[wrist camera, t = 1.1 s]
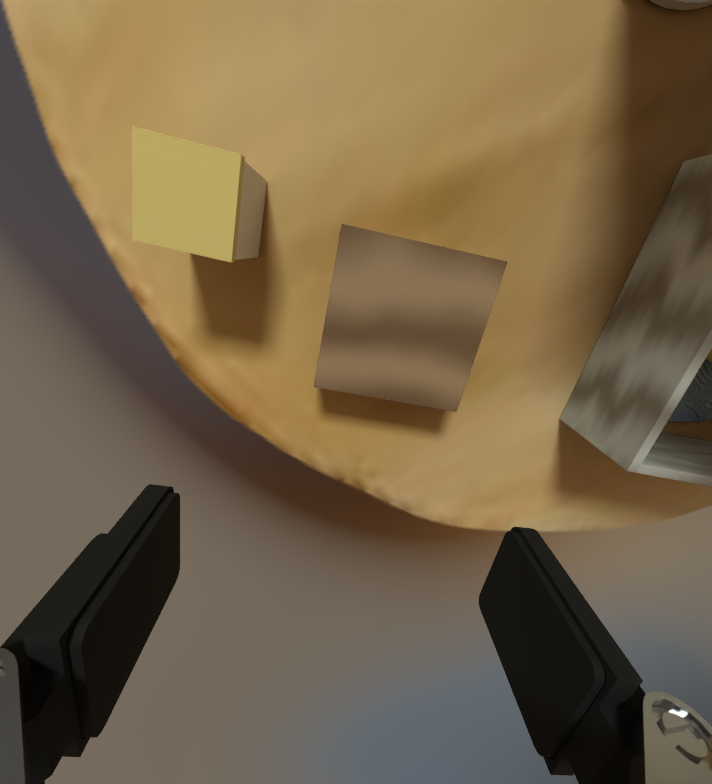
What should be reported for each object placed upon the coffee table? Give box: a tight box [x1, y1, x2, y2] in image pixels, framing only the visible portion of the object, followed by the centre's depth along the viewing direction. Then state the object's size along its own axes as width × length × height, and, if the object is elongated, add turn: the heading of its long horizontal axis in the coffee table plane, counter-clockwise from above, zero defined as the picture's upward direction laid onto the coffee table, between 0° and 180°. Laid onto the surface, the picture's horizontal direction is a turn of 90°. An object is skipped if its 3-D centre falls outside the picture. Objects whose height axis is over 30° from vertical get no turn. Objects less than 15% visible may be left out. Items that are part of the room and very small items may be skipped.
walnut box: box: [314, 224, 507, 412], centre depth 29 cm, size 12×12×5 cm
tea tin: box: [132, 126, 267, 263], centre depth 24 cm, size 6×6×8 cm
